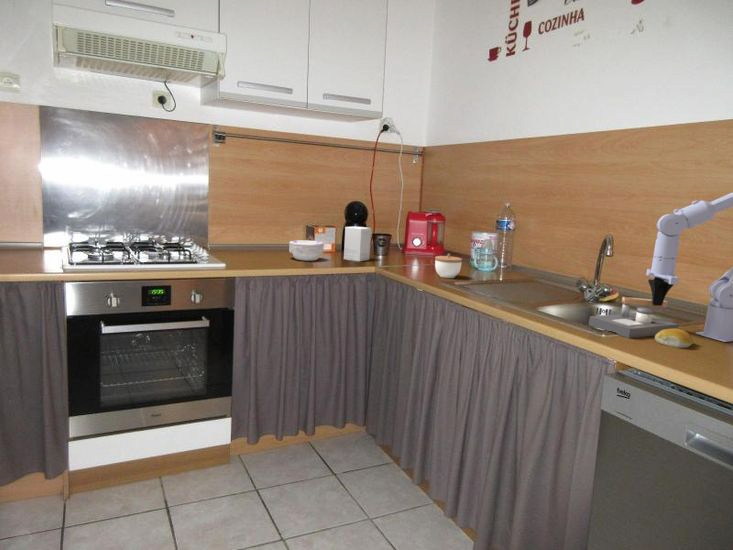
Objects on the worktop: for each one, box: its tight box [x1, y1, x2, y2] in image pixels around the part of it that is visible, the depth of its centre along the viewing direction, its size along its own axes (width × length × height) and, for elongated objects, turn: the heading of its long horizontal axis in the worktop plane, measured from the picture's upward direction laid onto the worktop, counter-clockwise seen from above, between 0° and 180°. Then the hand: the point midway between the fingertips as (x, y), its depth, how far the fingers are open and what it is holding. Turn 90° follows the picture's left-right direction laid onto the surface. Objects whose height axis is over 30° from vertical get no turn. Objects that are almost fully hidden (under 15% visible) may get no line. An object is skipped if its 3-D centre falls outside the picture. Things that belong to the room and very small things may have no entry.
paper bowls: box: [288, 239, 325, 262], centre depth 239 cm, size 15×15×8 cm
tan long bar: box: [621, 296, 669, 308], centre depth 154 cm, size 12×3×2 cm, turn 82°
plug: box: [635, 306, 654, 324], centre depth 150 cm, size 4×4×6 cm
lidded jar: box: [434, 253, 463, 279], centre depth 217 cm, size 11×11×9 cm
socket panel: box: [588, 303, 679, 339], centre depth 151 cm, size 20×13×6 cm, turn 117°
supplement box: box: [343, 226, 372, 262], centre depth 248 cm, size 9×9×15 cm
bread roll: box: [654, 328, 694, 349], centre depth 139 cm, size 8×9×4 cm
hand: (657, 305), depth 152 cm, fingers closed, pressing on tan long bar
